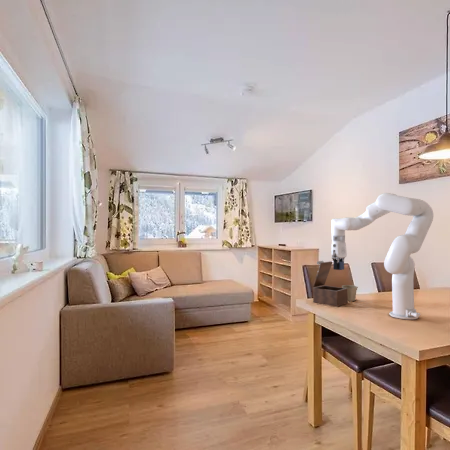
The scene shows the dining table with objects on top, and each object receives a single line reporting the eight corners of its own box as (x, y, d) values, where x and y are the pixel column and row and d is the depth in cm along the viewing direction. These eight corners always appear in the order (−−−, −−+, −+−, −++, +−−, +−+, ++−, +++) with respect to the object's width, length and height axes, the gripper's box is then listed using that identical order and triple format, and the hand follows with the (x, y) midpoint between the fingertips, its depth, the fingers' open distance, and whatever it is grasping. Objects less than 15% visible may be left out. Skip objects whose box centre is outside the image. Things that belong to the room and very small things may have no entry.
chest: (347, 303, 183) (347, 288, 184) (337, 306, 175) (336, 291, 175) (324, 299, 195) (323, 285, 196) (313, 302, 187) (312, 287, 187)
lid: (332, 261, 191) (325, 258, 195) (321, 263, 183) (314, 259, 186) (324, 284, 195) (317, 280, 199) (313, 287, 187) (306, 283, 191)
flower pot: (360, 301, 187) (360, 287, 187) (345, 301, 187) (345, 287, 187) (354, 298, 196) (354, 285, 196) (339, 298, 196) (339, 285, 197)
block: (344, 269, 181) (344, 261, 182) (340, 270, 178) (340, 262, 179) (337, 268, 185) (337, 261, 185) (333, 269, 182) (333, 261, 182)
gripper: (337, 239, 174) (337, 271, 173) (351, 238, 185) (351, 268, 184) (325, 239, 179) (325, 269, 179) (339, 238, 190) (340, 267, 190)
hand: (338, 268), depth 182 cm, fingers closed on block, 4 cm apart
